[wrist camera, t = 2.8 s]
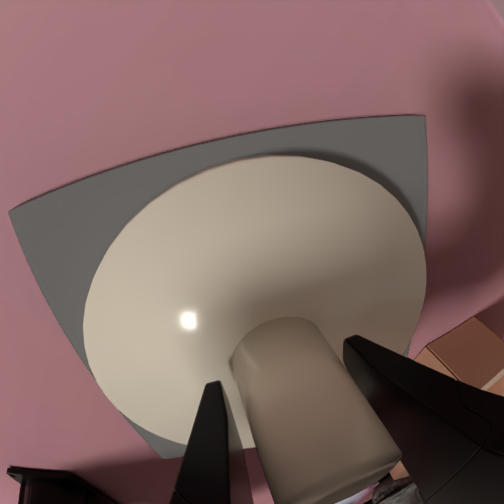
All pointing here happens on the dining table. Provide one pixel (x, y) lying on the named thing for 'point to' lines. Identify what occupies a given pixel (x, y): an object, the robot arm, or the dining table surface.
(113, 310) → the lid
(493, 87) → the dining table surface
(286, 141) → the mat
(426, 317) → the dining table surface
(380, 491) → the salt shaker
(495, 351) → the bowl
